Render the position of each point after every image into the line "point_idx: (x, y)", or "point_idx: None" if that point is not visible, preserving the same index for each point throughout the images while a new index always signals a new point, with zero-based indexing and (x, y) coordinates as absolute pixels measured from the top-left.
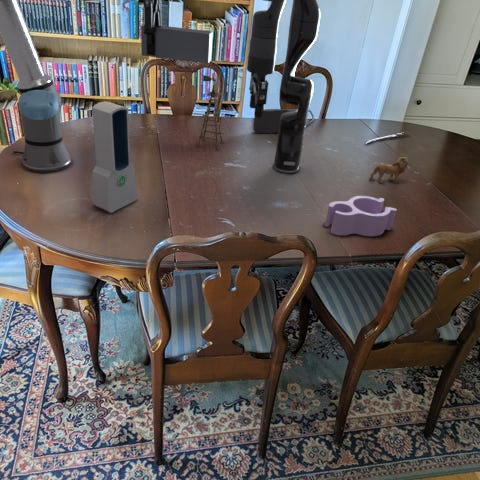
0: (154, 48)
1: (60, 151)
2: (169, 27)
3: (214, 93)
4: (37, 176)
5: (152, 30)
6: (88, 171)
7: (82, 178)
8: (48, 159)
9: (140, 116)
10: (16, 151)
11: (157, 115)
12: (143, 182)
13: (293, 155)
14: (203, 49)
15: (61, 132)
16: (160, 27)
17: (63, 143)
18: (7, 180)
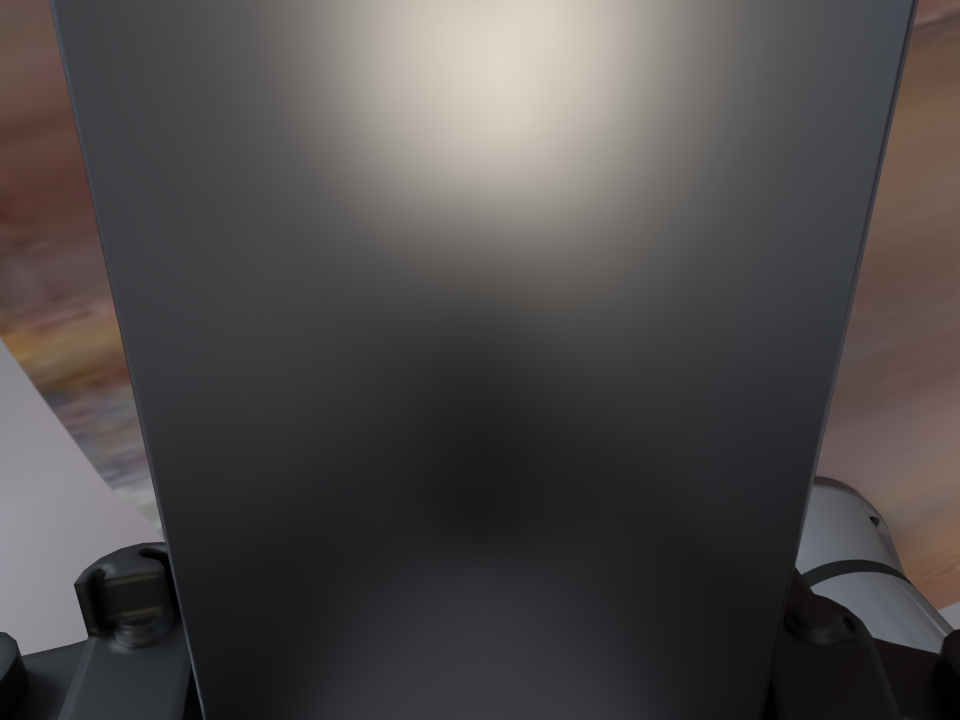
0: None
1: (859, 533)
2: (381, 326)
3: None
4: (904, 535)
5: (883, 698)
6: (838, 393)
7: (908, 391)
8: (892, 546)
9: (86, 402)
10: None
11: (12, 324)
12: (929, 132)
13: None
14: None
15: (846, 587)
16: (624, 608)
17: (811, 550)
18: (945, 599)
